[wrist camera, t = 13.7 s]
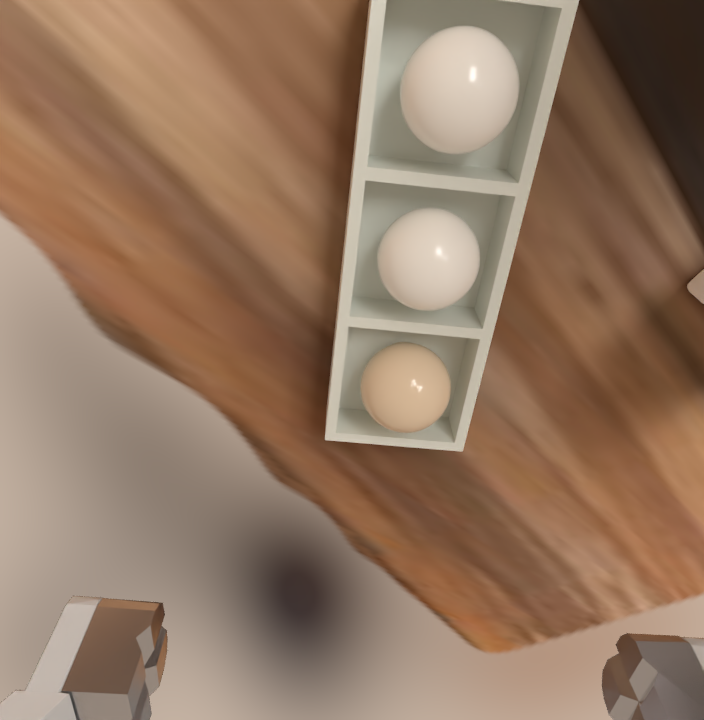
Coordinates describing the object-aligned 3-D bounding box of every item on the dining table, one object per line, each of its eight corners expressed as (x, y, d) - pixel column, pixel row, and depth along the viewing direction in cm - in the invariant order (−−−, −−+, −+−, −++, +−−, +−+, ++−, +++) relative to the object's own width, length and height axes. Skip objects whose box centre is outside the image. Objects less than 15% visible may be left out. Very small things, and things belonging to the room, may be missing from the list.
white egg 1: (516, 30, 27) (548, 37, 23) (491, 147, 29) (515, 172, 25) (404, 16, 27) (415, 20, 22) (389, 135, 29) (395, 159, 25)
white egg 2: (479, 200, 31) (500, 233, 26) (460, 289, 33) (476, 333, 29) (382, 189, 30) (387, 221, 26) (370, 280, 33) (372, 323, 29)
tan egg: (452, 330, 35) (466, 378, 30) (436, 402, 37) (447, 455, 33) (365, 322, 34) (366, 369, 30) (355, 395, 37) (355, 447, 33)
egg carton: (555, -8, 27) (581, -8, 24) (453, 416, 39) (462, 451, 36) (372, -31, 27) (375, -34, 24) (326, 405, 38) (324, 440, 35)
